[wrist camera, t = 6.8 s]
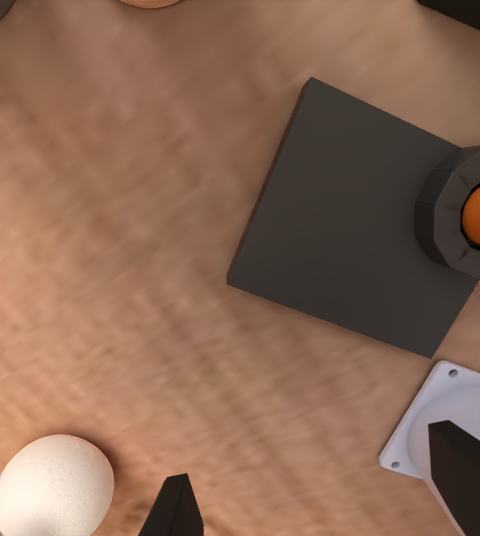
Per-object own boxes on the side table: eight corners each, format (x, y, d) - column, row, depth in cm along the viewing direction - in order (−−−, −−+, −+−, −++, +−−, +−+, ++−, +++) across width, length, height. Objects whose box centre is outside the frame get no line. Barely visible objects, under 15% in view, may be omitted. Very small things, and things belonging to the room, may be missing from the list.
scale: (534, 174, 17) (596, 174, 14) (428, 350, 20) (463, 381, 17) (310, 67, 15) (330, 43, 13) (226, 276, 18) (226, 295, 15)
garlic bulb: (104, 515, 22) (40, 699, 14) (7, 491, 21) (-118, 672, 13) (133, 441, 21) (78, 601, 13) (29, 412, 20) (-96, 564, 12)
